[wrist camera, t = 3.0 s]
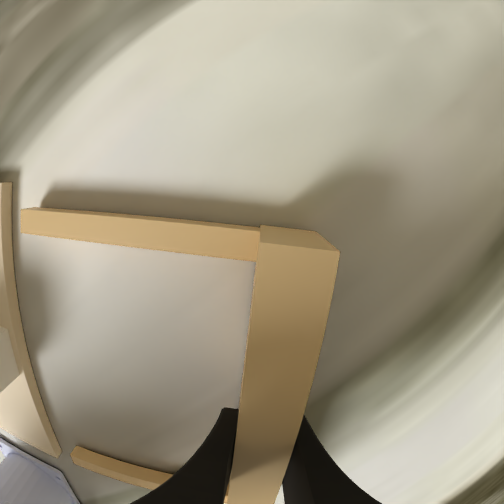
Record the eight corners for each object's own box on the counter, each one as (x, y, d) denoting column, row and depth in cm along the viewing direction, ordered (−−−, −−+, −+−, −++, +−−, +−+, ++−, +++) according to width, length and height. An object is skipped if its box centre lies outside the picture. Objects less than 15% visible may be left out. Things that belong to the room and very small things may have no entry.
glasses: (80, 455, 14) (59, 489, 11) (34, 204, 11) (-21, 214, 7) (262, 494, 14) (261, 538, 11) (318, 232, 11) (344, 252, 7)
